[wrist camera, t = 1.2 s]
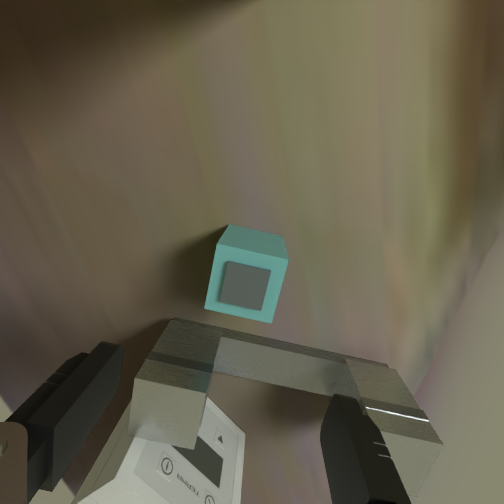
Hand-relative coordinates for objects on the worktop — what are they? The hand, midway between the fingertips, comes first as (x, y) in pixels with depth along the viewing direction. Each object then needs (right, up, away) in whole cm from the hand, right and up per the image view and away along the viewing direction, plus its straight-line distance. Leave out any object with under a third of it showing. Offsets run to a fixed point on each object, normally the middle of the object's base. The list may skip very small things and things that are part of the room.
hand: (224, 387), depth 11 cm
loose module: (+1, +5, +16) cm, 17 cm away
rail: (+4, -6, +19) cm, 20 cm away
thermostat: (-9, -15, +23) cm, 29 cm away
